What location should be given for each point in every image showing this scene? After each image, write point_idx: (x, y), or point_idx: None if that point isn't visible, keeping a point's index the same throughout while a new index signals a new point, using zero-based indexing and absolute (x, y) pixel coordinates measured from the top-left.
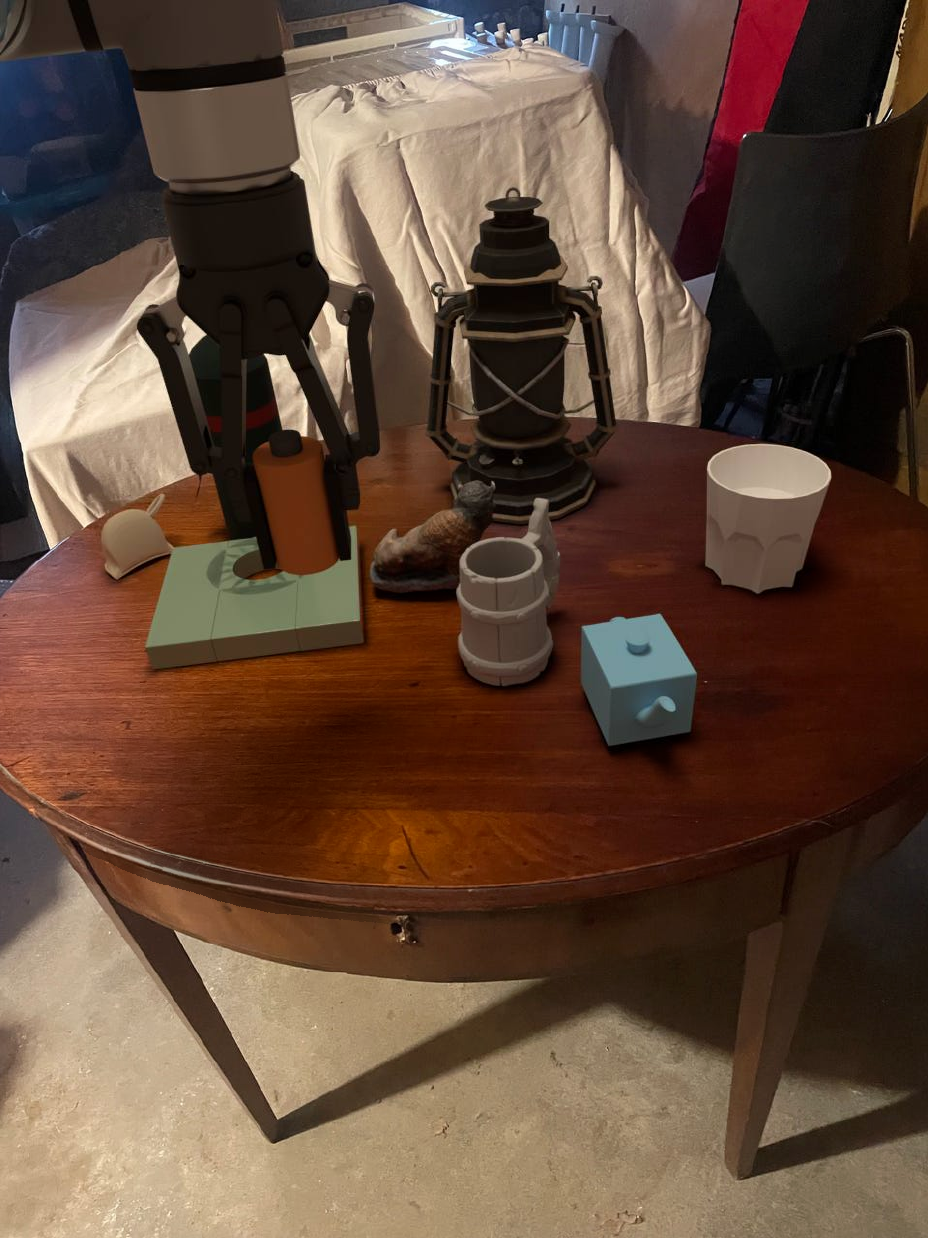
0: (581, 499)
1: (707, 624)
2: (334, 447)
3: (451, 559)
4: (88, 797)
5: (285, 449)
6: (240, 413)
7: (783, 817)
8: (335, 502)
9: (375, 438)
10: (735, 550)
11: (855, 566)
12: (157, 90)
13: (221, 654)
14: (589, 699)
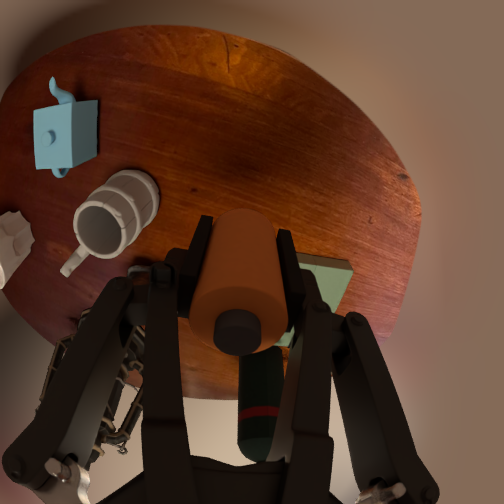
0: (84, 313)
1: (38, 193)
2: (166, 299)
3: (147, 279)
4: (396, 171)
5: (240, 317)
6: (301, 374)
7: (52, 54)
8: (195, 251)
9: (107, 292)
10: (14, 231)
11: None
12: None
13: (310, 257)
14: (95, 137)
